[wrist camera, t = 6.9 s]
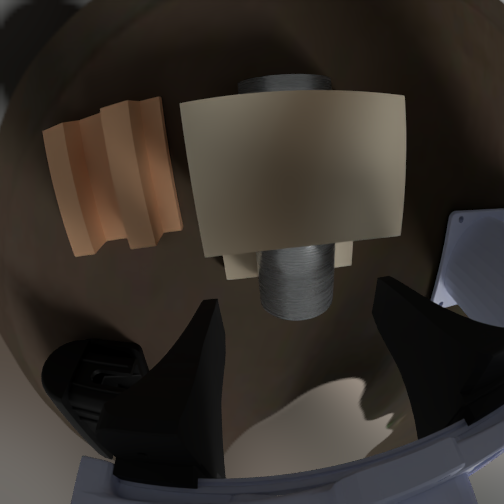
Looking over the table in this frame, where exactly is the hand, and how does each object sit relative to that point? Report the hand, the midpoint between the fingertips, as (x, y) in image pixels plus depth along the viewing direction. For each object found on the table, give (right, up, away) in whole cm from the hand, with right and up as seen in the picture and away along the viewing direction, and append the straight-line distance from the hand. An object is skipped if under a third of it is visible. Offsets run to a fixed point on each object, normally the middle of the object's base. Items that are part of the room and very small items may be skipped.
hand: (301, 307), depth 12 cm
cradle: (-10, +6, +1) cm, 12 cm away
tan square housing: (-1, +6, +2) cm, 6 cm away
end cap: (-14, -8, +9) cm, 19 cm away
